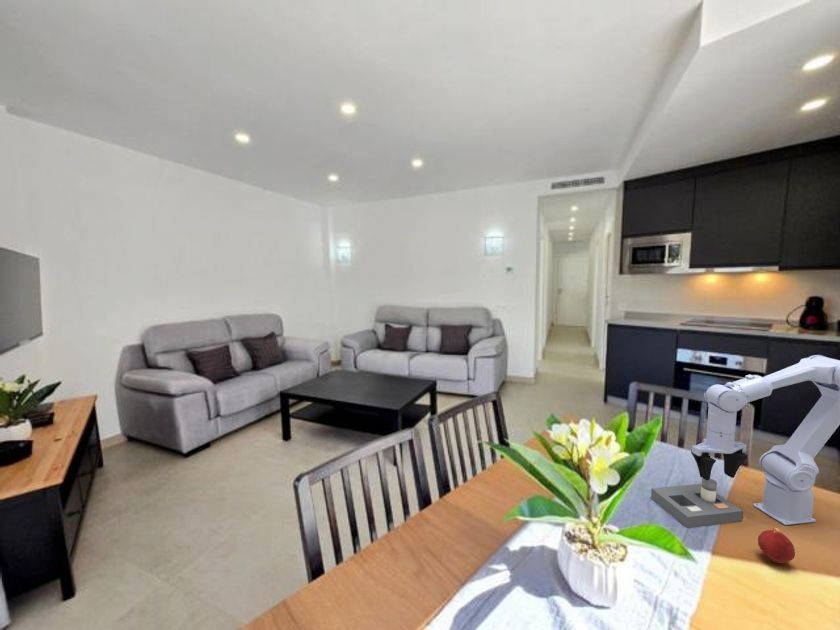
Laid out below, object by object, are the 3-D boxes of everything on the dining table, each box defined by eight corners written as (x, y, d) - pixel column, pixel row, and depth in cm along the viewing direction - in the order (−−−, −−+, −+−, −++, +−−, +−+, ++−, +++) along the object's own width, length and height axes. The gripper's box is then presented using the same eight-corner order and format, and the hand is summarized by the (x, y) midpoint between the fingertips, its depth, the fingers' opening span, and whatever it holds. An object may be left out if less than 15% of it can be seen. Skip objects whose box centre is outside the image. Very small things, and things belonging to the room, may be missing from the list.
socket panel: (700, 493, 103) (701, 482, 103) (742, 521, 91) (743, 509, 91) (650, 498, 101) (651, 487, 101) (687, 527, 89) (688, 515, 89)
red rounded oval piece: (782, 554, 80) (786, 522, 79) (800, 575, 75) (804, 541, 74) (751, 548, 82) (754, 517, 81) (765, 568, 77) (769, 535, 76)
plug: (707, 503, 98) (709, 477, 97) (717, 511, 95) (720, 484, 94) (696, 504, 98) (698, 478, 97) (707, 512, 95) (709, 485, 94)
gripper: (729, 421, 98) (726, 466, 100) (683, 425, 97) (680, 471, 98) (756, 432, 91) (752, 481, 93) (707, 437, 90) (703, 486, 91)
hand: (716, 477), depth 95 cm, fingers open, 7 cm apart
